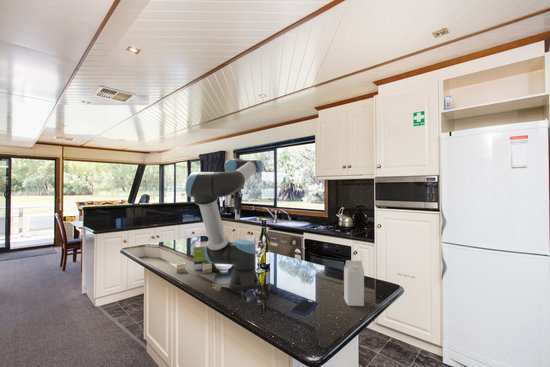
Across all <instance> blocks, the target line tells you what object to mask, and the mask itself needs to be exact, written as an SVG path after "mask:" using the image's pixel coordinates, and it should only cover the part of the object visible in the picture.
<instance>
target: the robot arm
mask: <svg viewBox="0 0 550 367" xmlns="http://www.w3.org/2000/svg"><path fill="white" fill-rule="evenodd" d="M223 166H224V169H225V171H215V172H214V171H196V172H195V171H194V172H191V173H190V174H189V175H188V177H187V179H186V181H185V194H186V195H187V196H188V197H190V198H193V200H194V201H193V202H194V203H195V205H197V206H199V210H200V213H201V214H200V215H201V217H202V221H203V224H204V228H205V231H206V232H205V233H206V236H207V238H208V240H207V241H208V242H207V241H206V242H207V244H206V246H205V258H206V260H207V261H208V262H209V263H211V264H215V265H218V264H219V265H231V266H232V265H233V271H232V275H231V278H230V282H229V287H230V288H231V289H233V290H237V291H249V290H254V289H256V288H257V287H259V284H260V283H259V282H260V281H259V276H258V274H257V271H256V270H257V269H256V267H257V266H256V262H257V259H256V258H257V254H256V253H257V248H256V244H255V242H253V241H252V240H248V239H241V238H240V239H239V238H238V239H235V240H234V241H233V242H232V241H230V239H229V237H228V236H227V235H226V234H225V231H224V226H223V222H222V221H223V220H222V217H221V213H220V210H219V204H218V199H219V198H225V197H228V196H230V195H233V205H234V206H233V207H234V209H235V211H234V212H235V214H234V215H235V216H234V219H235V220H237V221H239V220H241V209H242V201H243V193H242V190H244V189H245V183H246V182H247V181H248V180H249V179H250V178H251V177H252V176H253V175H254V174H258V173H262V172H263V168H264V164H263V161H262V160H260V159H253V160H252V159H251V160H249V159H248V160H247V159H246V160H244V159H242V158H233V159H228V160H226V161H225V162H224V165H223Z"/></svg>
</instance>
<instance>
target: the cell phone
mask: <svg viewBox="0 0 550 367" xmlns="http://www.w3.org/2000/svg"><path fill="white" fill-rule="evenodd" d="M318 304H319V302H317V301H314V300H311V299H307V298H304V299H301V301H299V302H298V303H297V304H296V305H295V306H294V307H292V308H291V309H290V312H291V311H292V312H291V313H293V312H295V313H294V314H296V313H298V314H297V315H301V316H303V315H304V316H307V315H308V314H310V313H311V311H312V310H313V309H314V308H316V306H317V305H318Z"/></svg>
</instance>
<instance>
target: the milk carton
mask: <svg viewBox="0 0 550 367" xmlns="http://www.w3.org/2000/svg"><path fill="white" fill-rule="evenodd" d="M362 262H363V260H345V264H344V266H343V299H344V301H345V304H346V305H347V306H348V307H349V306H350V307H351V306H352V307H364V306H365V271H364V266H363V263H362Z"/></svg>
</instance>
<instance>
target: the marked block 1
mask: <svg viewBox="0 0 550 367" xmlns="http://www.w3.org/2000/svg"><path fill="white" fill-rule="evenodd" d="M178 272H179V273H186V261H177V262H176V273H177V274H178Z"/></svg>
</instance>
